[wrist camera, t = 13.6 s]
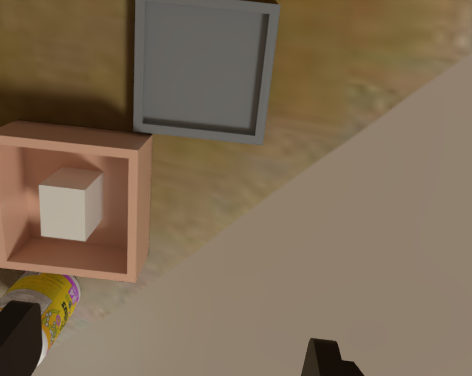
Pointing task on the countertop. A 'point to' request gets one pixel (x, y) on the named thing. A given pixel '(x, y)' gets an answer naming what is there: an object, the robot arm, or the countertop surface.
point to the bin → (114, 199)
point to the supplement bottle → (47, 301)
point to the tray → (204, 68)
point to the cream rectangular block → (71, 203)
